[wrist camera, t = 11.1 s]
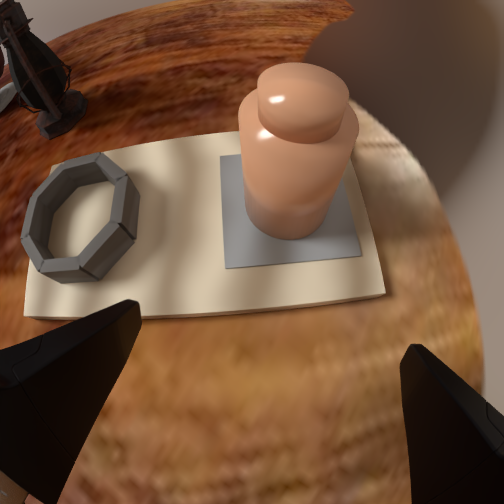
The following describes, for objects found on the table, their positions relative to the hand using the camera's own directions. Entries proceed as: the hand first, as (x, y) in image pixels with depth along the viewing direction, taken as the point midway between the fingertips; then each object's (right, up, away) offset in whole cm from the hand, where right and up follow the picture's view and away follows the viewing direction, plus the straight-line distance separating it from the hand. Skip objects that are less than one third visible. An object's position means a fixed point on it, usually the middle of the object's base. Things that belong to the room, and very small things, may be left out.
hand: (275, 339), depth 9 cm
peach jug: (+2, +8, +14) cm, 16 cm away
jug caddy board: (-7, +5, +15) cm, 17 cm away
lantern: (-26, +21, +22) cm, 40 cm away
